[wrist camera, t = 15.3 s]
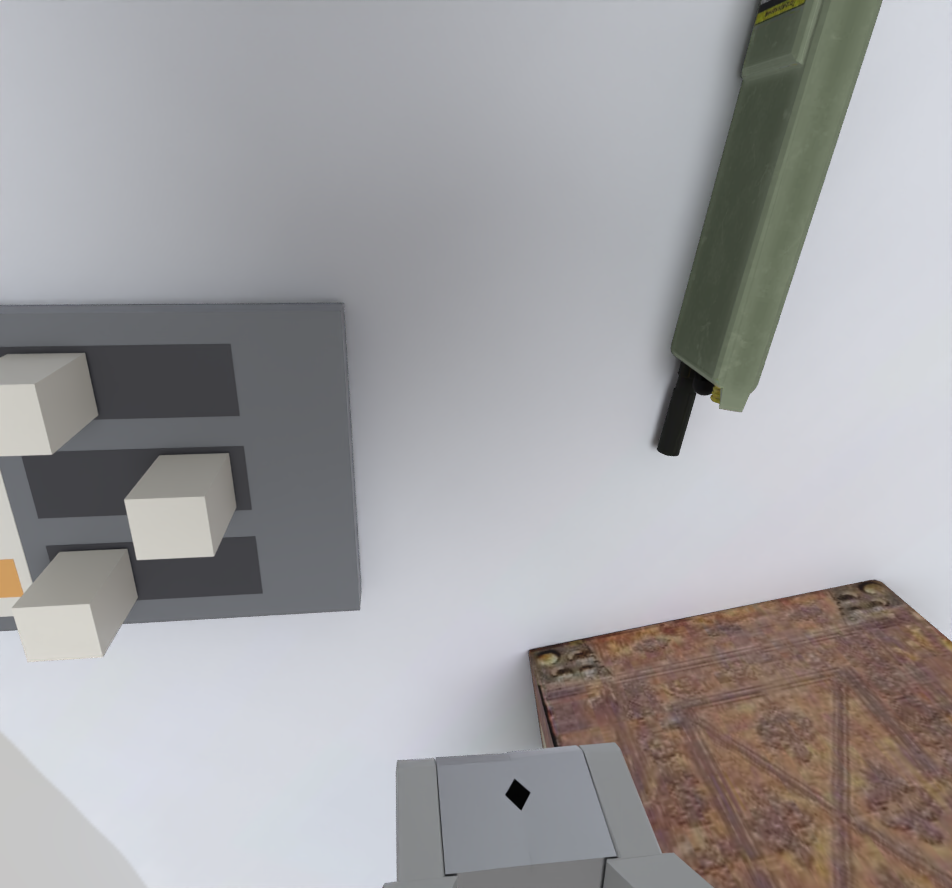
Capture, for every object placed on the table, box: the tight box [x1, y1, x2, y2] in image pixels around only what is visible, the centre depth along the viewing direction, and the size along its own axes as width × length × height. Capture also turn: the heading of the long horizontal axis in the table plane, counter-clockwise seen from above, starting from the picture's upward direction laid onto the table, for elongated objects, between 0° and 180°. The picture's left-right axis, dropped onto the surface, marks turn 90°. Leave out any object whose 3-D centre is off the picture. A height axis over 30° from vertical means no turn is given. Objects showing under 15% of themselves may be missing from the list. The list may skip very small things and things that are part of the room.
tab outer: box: [11, 549, 138, 662], centre depth 35 cm, size 3×4×5 cm
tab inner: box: [0, 353, 98, 456], centre depth 30 cm, size 3×4×5 cm
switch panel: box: [0, 303, 361, 631], centre depth 36 cm, size 18×22×2 cm
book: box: [529, 580, 952, 888], centre depth 34 cm, size 25×9×30 cm, turn 99°
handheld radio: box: [657, 0, 883, 456], centre depth 33 cm, size 7×3×25 cm
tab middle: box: [124, 453, 236, 560], centre depth 33 cm, size 3×4×5 cm
